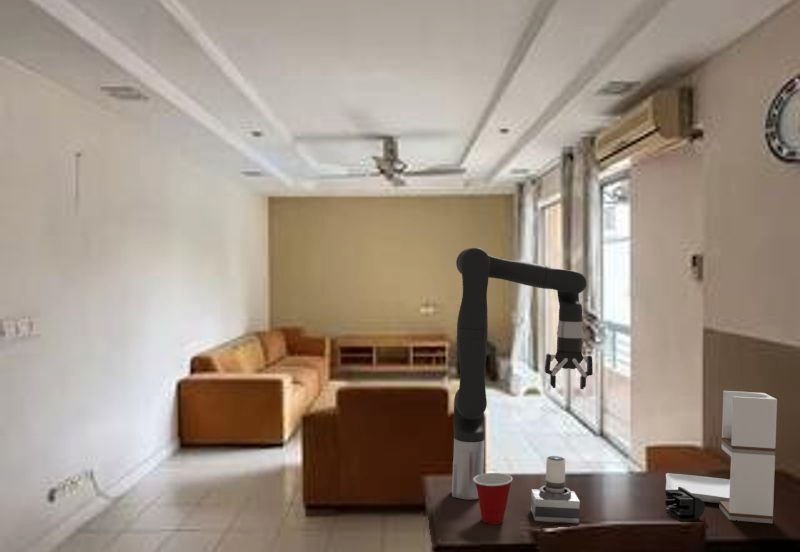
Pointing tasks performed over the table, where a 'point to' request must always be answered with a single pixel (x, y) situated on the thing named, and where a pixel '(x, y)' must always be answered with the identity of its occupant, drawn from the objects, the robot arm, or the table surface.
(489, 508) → the plastic cup
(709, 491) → the salad plate
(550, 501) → the banded square pedestal
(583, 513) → the table surface
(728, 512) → the white shelf tower
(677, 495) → the end cap
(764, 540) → the table surface
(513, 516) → the table surface
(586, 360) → the robot arm
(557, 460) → the lens barrel
